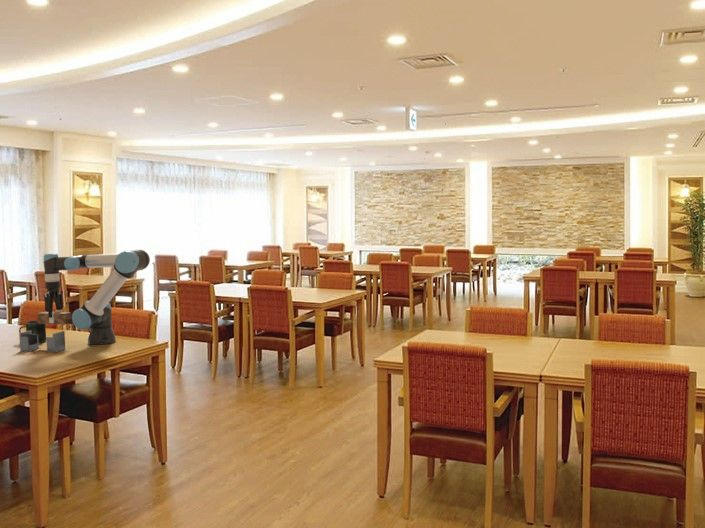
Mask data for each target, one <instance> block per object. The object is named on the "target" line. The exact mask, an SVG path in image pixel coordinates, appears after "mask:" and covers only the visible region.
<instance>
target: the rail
mask: <svg viewBox="0 0 705 528" xmlns="http://www.w3.org/2000/svg"><path fill="white" fill-rule="evenodd" d="M53 312H54V323H49V315H48V312H47V311H41V312H38V313H37V320H38V324H45V325H68V324H72V323H73V321H72V312H69V311H67V312H65V311H64V312H63V311H61V312H55V311H53Z"/></svg>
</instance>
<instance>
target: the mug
mask: <svg viewBox="0 0 705 528" xmlns="http://www.w3.org/2000/svg"><path fill="white" fill-rule="evenodd" d="M24 324H25V325H22V326H20V327H19V329H18V331H19V333H22V332H21V331H22V330H21V329H23V328H24V329H25V332H26V331H30V330H32V334H38V341H39V344H40V343H44V342H47V340H46V337H47V329H46V325H47V324H38V319H37V320H30V321H25V322H24Z"/></svg>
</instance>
